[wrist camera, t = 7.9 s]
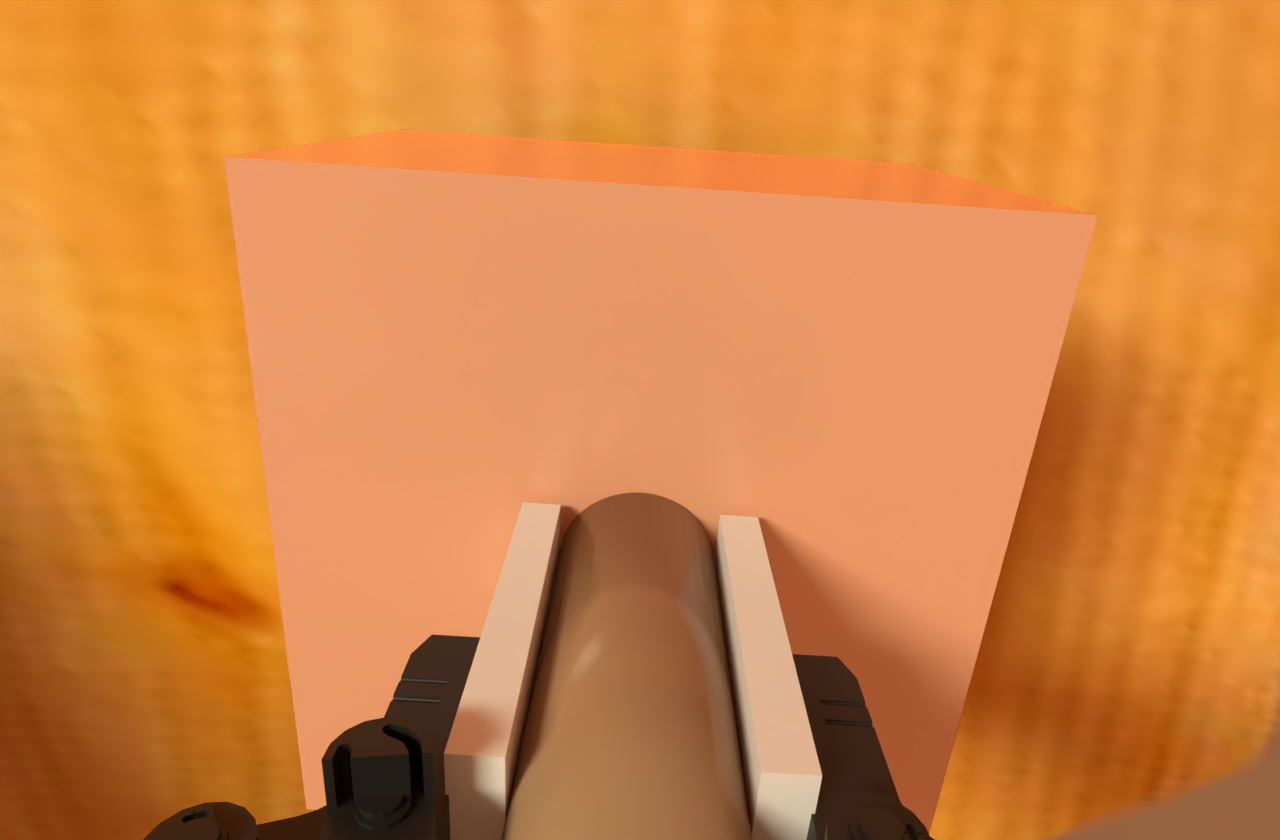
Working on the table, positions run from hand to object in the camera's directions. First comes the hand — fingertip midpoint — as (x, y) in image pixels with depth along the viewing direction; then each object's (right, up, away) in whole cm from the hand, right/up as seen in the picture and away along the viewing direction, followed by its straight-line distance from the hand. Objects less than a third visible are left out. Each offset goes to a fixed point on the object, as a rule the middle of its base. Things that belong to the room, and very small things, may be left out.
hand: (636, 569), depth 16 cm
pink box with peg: (0, +4, +10) cm, 11 cm away
